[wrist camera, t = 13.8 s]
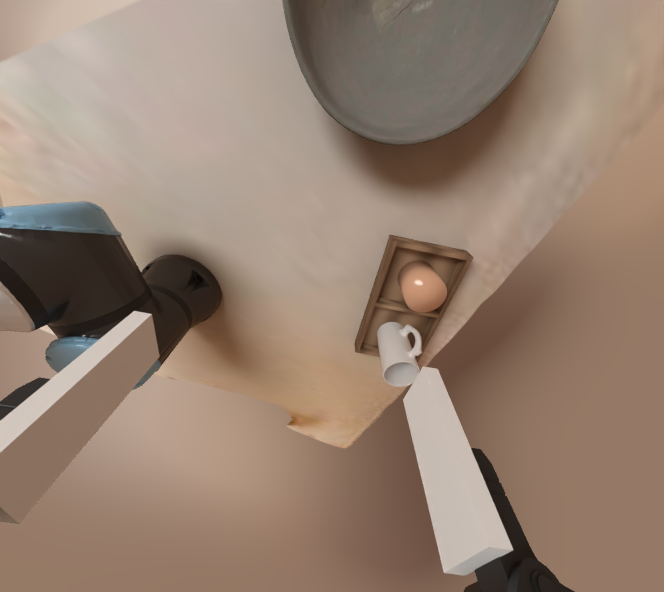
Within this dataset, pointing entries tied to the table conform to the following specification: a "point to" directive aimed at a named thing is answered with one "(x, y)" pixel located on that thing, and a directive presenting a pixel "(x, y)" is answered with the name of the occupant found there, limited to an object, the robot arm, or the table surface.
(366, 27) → the bowl
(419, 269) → the brown egg
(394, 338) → the mug
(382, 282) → the divided wooden tray
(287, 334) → the table surface
